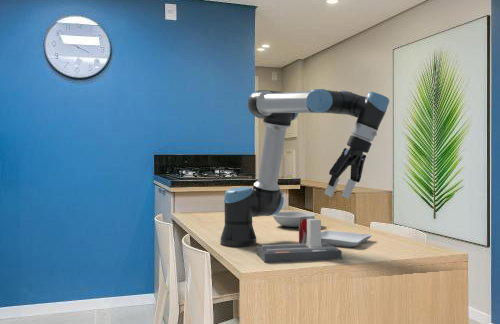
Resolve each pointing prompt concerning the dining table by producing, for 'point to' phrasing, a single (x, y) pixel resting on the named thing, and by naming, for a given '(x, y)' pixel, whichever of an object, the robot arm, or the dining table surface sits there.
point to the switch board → (297, 252)
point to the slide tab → (313, 233)
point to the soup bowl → (291, 217)
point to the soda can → (303, 229)
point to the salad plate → (343, 238)
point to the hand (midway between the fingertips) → (336, 196)
